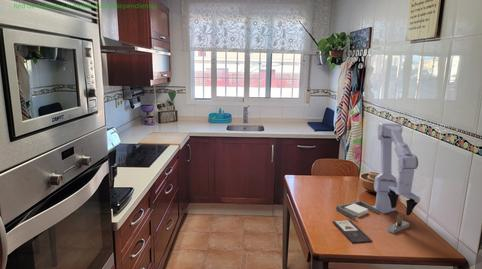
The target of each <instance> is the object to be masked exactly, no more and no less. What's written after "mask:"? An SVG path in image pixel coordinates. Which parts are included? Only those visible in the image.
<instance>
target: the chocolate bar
mask: <svg viewBox="0 0 482 269" xmlns="http://www.w3.org/2000/svg"><path fill="white" fill-rule="evenodd" d="M332 223H333V225H334V226H335V227H336V228H337V229H338V230H339V231H340V232H341V233H342V235H344V237H346V238H347V240H348V241H349V242H350V243H351V244H361V243H372V242H373V240H372V239H371V238H370V236H368V235H367V234H366V233H365V232H363V230H361V229H360V228H359V226H357V225H356V224H355V223H354V222H353V221H352V220H349V219H348V220H337V221H336V220H335V221H332Z"/></svg>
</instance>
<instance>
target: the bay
mask: <svg viewBox="0 0 482 269" xmlns="http://www.w3.org/2000/svg"><path fill="white" fill-rule="evenodd" d="M351 204H357V205H359V206H362V207H364V208H367V209H368V211H371V212H374V213H375V214H379V213H380V212H379V209H377V208H375V207H373V206H374V205H370V204H368V203H366V202H364V201H362V200H358V201H353V202H349V203H344V204H340V205H336V206H335V207H336V208H335V210H336V211H338V212H339V213H341V214H343V215H344V216H347V217H348V218H350V219H352V220H354V221H355V220H356V217H357V216H355V215H354V214H352V213H350V212H348V211H346V210H345V207H346V206H349V205H351Z"/></svg>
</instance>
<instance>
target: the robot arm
mask: <svg viewBox="0 0 482 269" xmlns="http://www.w3.org/2000/svg"><path fill="white" fill-rule="evenodd" d="M402 133H403V125H402V123H400V122H399V123H393V122H391V123H390V122H388V123H387V122H380V123H379V125H378V127H377V139H378V140H379V141H380V173H379V174H377V175H376V176H374V182H373V189H374V191H375V193H376V198H375V204H374V205H372V206H373V207H375V208H377V209H379V213H382V214H387V213H392V212H396V211H397V209H396V208H397V203H398V198H399V196H402V197H404V198H406V199H407V200H405V203H406V210H405V212H406V213H405V215H406V216H410V215H411V214H412V212H413V211H414V209H415V207H416V206H417V205H418V204H419V203H420V202H421V197H420V196H417V195H416V194H415V193H413V192H412V187H413V182H414V176H415V170H417V168H418V167H419V158H418V157H417V155H415V154H413V153H412V151H411V148H410V146H409V145H408V144H407V143H405V142H404V139H403V136H402ZM392 143H394V152H395V153H396V155H397V158H398V159H397V160H398V161H397V165H398V167H397V168H398V169H397V171H398V177H395V175H393V173H392V151H393V150H392V148H393V147H392Z"/></svg>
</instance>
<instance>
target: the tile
mask: <svg viewBox="0 0 482 269" xmlns="http://www.w3.org/2000/svg"><path fill="white" fill-rule="evenodd" d="M345 210H346V211H348V212H350V213H352V214H354V215H355V216H356V217H357V218H359V217H362V216H364V215H365V216H366V215H367V214H368V212H369V209H367V208H365V207H363V206H361V205H357V204H351V205H349V206H346V207H345Z"/></svg>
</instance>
